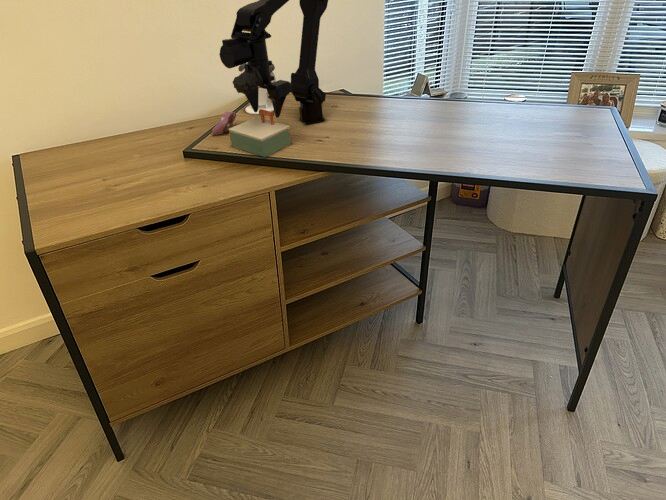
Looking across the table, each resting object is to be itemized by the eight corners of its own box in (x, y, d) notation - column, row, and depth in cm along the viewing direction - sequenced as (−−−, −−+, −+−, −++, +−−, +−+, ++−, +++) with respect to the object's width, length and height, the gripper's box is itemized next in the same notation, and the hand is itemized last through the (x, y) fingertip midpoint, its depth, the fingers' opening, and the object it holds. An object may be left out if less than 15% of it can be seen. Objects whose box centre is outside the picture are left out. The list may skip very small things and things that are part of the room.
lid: (257, 119, 147) (254, 104, 144) (290, 128, 139) (288, 112, 136) (228, 131, 140) (225, 116, 138) (261, 141, 132) (259, 125, 129)
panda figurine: (283, 103, 171) (277, 59, 163) (273, 114, 163) (266, 68, 154) (252, 103, 174) (244, 60, 165) (240, 114, 165) (232, 69, 156)
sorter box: (257, 134, 149) (255, 119, 146) (290, 144, 141) (288, 128, 138) (232, 146, 143) (228, 131, 140) (264, 157, 135) (261, 141, 132)
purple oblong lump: (223, 140, 151) (228, 121, 147) (210, 134, 150) (215, 115, 146) (234, 128, 159) (240, 110, 154) (222, 122, 158) (227, 104, 154)
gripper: (212, 62, 131) (224, 117, 140) (258, 70, 120) (268, 130, 130) (243, 52, 137) (253, 106, 147) (289, 59, 127) (296, 116, 136)
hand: (266, 114), depth 140 cm, fingers open, 9 cm apart
